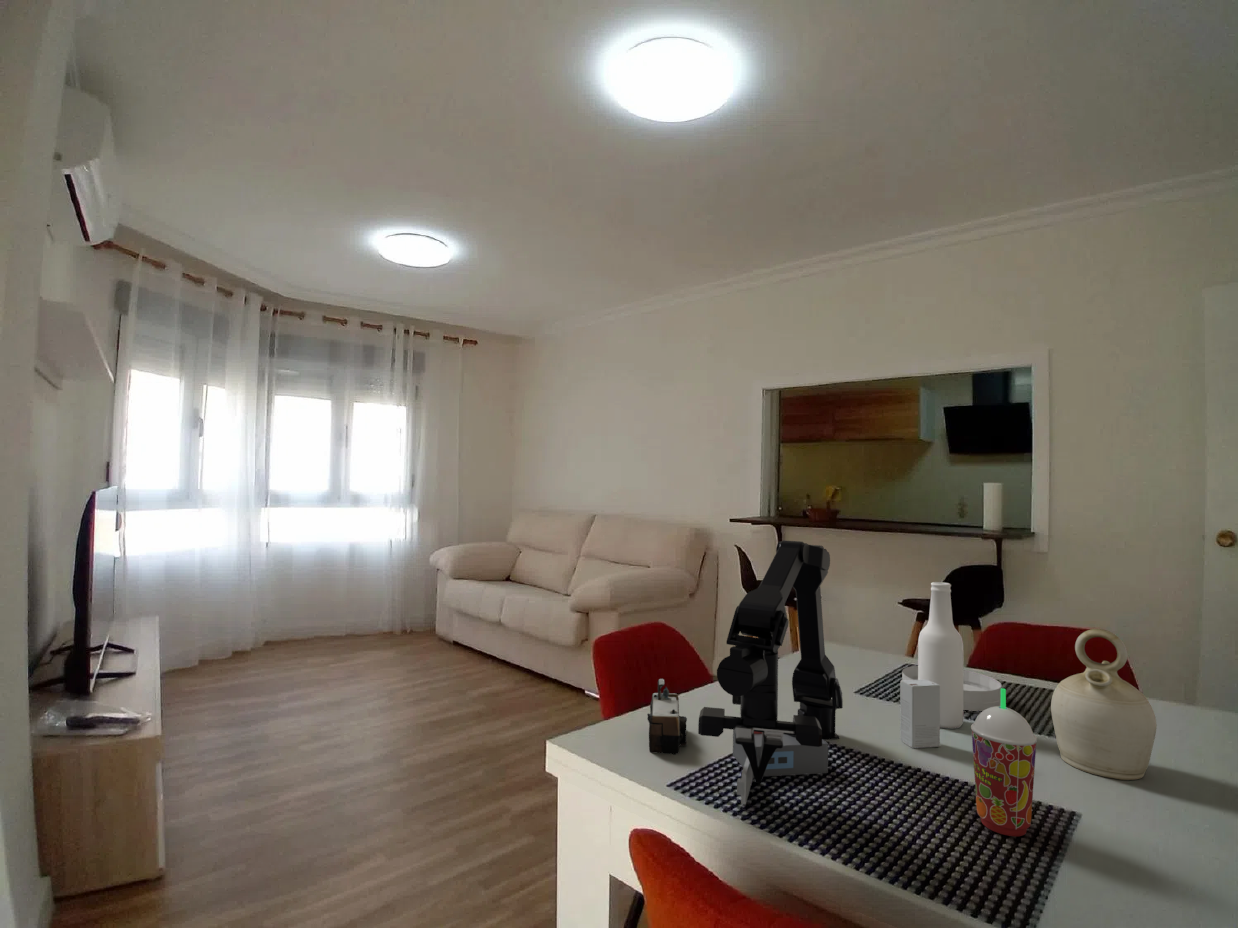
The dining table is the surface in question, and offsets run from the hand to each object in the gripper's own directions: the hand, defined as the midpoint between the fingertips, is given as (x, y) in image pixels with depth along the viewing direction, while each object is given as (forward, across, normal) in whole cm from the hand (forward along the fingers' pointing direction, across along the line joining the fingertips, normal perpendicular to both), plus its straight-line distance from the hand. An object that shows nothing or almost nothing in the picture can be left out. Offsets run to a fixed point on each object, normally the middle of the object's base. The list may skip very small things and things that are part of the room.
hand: (758, 781), depth 99 cm
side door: (+2, +2, -2) cm, 4 cm away
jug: (+3, -62, -30) cm, 69 cm away
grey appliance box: (+3, -4, -15) cm, 15 cm away
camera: (+3, +17, -20) cm, 27 cm away
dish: (+3, -48, -67) cm, 82 cm away
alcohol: (+3, -40, -47) cm, 61 cm away
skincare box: (+3, -32, -32) cm, 45 cm away
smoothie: (+3, -35, -1) cm, 35 cm away
